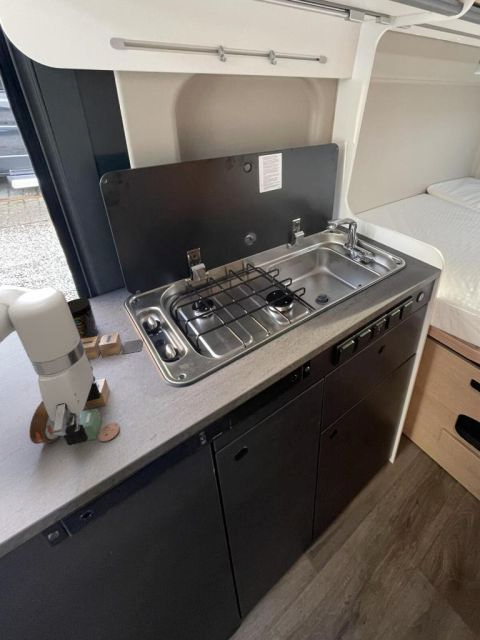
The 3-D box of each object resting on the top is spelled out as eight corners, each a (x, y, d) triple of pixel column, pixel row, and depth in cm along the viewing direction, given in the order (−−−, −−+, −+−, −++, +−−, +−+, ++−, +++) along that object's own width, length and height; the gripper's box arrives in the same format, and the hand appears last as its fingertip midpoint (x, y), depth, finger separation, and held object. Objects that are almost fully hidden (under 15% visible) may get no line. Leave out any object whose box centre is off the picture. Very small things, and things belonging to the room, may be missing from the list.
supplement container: (100, 337, 92) (90, 307, 87) (71, 347, 88) (60, 316, 84) (97, 324, 97) (88, 295, 92) (70, 333, 93) (60, 303, 89)
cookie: (119, 420, 69) (118, 417, 69) (120, 437, 66) (119, 433, 65) (98, 428, 67) (97, 425, 67) (98, 445, 64) (96, 442, 64)
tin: (79, 388, 76) (68, 361, 73) (92, 388, 76) (83, 361, 73) (35, 453, 63) (20, 424, 59) (53, 452, 63) (39, 423, 59)
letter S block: (74, 444, 64) (68, 430, 63) (80, 426, 68) (74, 412, 66) (96, 438, 66) (91, 425, 64) (101, 421, 69) (96, 407, 67)
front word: (85, 409, 71) (80, 396, 70) (90, 394, 75) (85, 381, 73) (105, 405, 72) (101, 392, 71) (109, 390, 76) (105, 377, 74)
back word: (80, 362, 84) (75, 350, 82) (85, 349, 88) (81, 337, 86) (141, 351, 87) (138, 339, 86) (143, 339, 92) (140, 327, 90)
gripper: (52, 327, 64) (77, 389, 72) (10, 400, 49) (47, 468, 57) (94, 320, 66) (115, 381, 74) (66, 387, 51) (96, 455, 59)
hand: (85, 419), depth 65 cm, fingers open, 9 cm apart
